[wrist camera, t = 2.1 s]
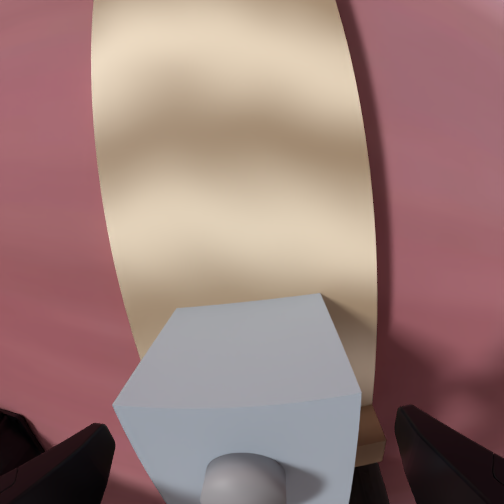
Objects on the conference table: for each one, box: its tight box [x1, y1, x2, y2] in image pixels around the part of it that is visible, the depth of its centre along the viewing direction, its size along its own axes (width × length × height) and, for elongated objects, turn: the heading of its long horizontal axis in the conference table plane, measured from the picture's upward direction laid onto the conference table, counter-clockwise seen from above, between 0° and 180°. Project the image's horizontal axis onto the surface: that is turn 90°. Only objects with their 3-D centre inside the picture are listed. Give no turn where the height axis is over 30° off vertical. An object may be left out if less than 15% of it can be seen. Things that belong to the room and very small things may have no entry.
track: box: [91, 0, 386, 467], centre depth 10 cm, size 26×10×4 cm, turn 8°
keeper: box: [112, 293, 362, 504], centre depth 9 cm, size 5×6×7 cm
